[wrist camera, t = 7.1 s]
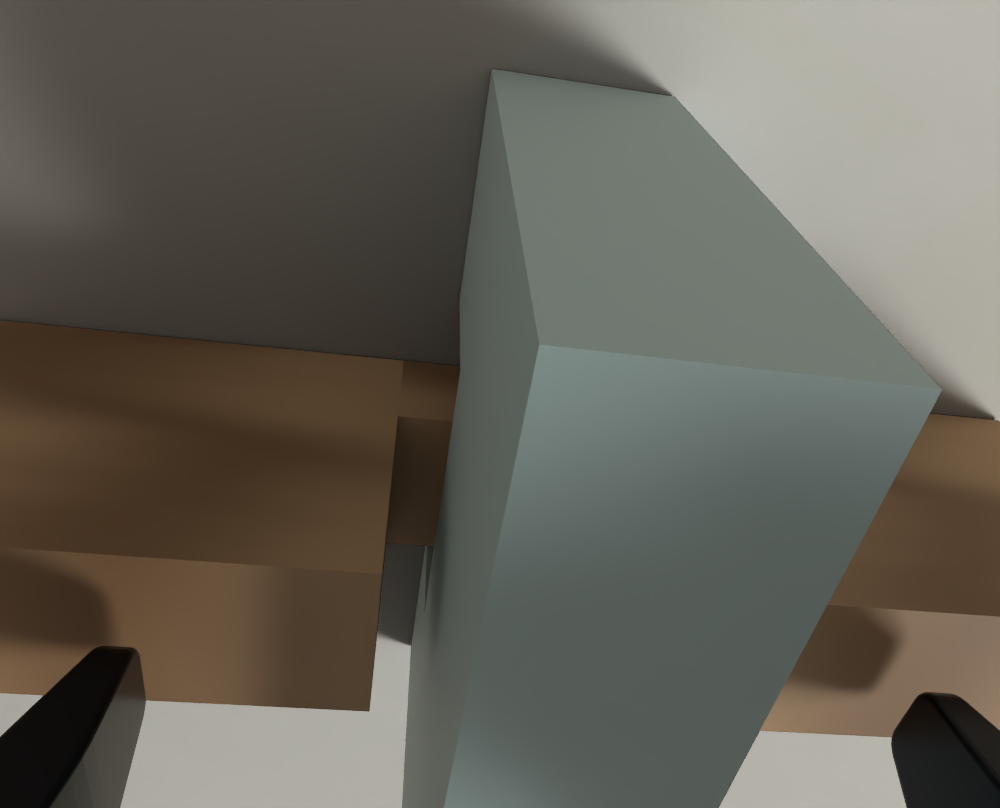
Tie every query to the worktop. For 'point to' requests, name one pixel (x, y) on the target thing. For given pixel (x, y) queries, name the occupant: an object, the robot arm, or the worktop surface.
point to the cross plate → (636, 463)
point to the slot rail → (379, 531)
